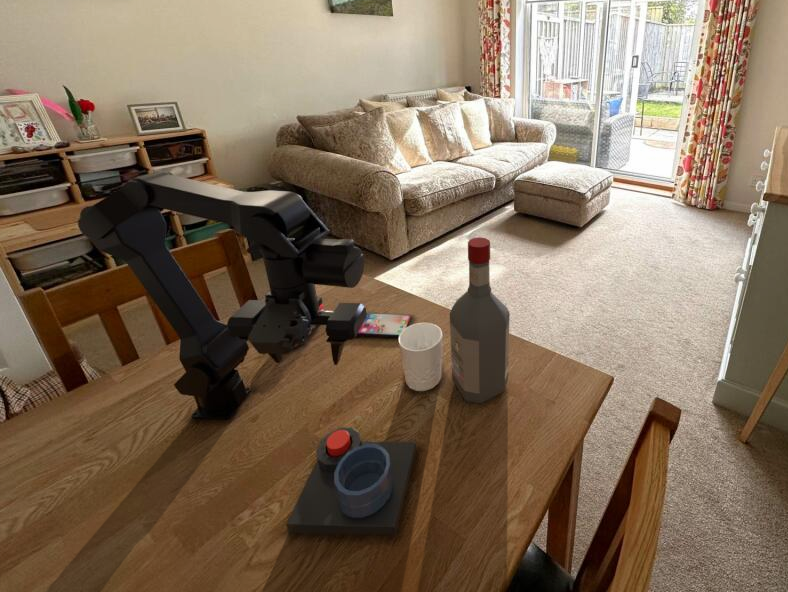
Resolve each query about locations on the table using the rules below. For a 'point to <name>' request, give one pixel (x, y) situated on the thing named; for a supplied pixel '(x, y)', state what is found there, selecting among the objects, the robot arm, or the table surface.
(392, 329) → the smartphone
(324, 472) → the dark grey base plate
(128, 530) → the table surface
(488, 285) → the liquor
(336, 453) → the power button
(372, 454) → the bowl
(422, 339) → the white cup
